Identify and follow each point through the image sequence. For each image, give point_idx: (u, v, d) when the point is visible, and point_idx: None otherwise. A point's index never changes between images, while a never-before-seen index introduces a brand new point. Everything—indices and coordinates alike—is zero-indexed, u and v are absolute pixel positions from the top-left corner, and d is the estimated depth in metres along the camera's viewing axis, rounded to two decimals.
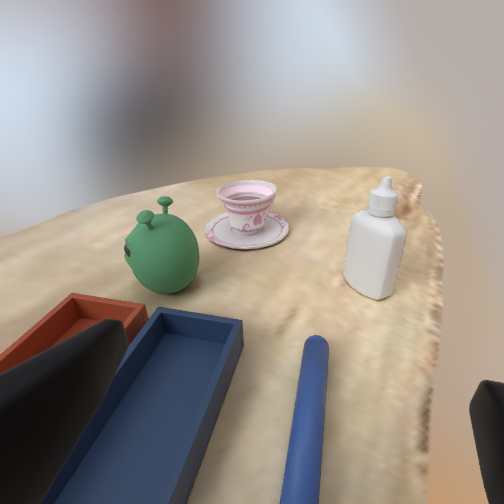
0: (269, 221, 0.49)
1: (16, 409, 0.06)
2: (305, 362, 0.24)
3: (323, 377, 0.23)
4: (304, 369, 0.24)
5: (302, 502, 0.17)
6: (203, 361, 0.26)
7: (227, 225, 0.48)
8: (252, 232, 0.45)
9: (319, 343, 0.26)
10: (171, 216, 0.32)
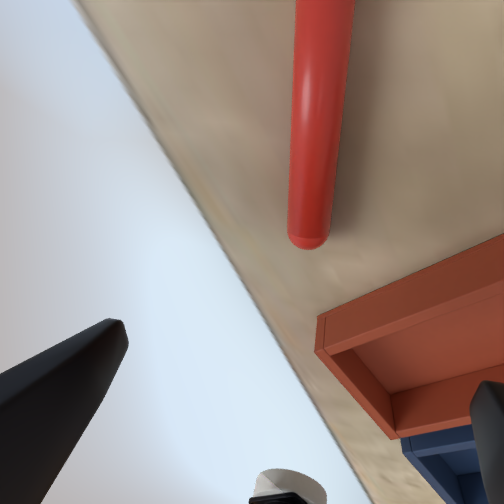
0: None
1: (16, 409, 0.06)
2: None
3: None
4: None
5: None
6: None
7: None
8: None
9: None
10: None
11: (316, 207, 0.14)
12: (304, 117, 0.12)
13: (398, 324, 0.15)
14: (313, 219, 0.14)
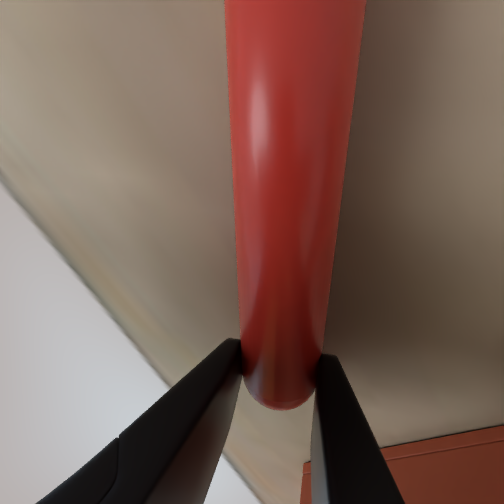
0: None
1: (183, 451, 0.05)
2: None
3: None
4: None
5: None
6: None
7: None
8: None
9: None
10: None
11: (290, 355, 0.07)
12: (255, 191, 0.05)
13: None
14: (285, 375, 0.07)
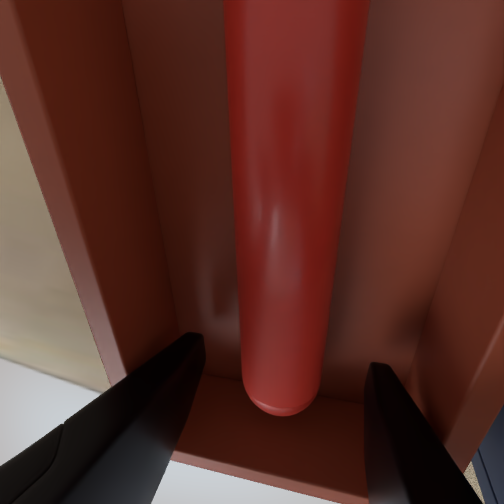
0: None
1: (126, 436, 0.06)
2: None
3: None
4: None
5: None
6: None
7: None
8: None
9: None
10: None
11: (292, 361, 0.07)
12: (255, 192, 0.05)
13: (100, 335, 0.07)
14: (286, 381, 0.07)
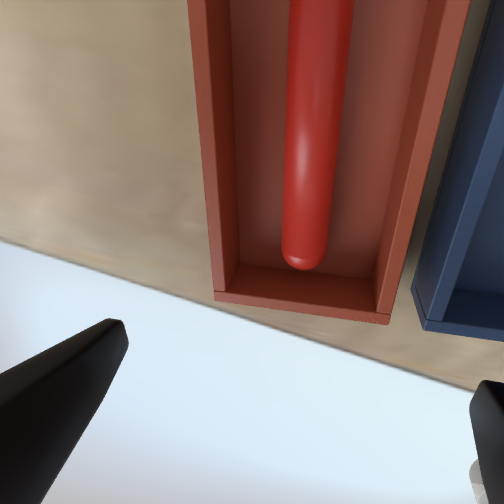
0: None
1: (16, 409, 0.06)
2: None
3: None
4: None
5: None
6: None
7: None
8: None
9: None
10: None
11: (312, 226, 0.13)
12: (298, 130, 0.11)
13: (211, 213, 0.13)
14: (309, 239, 0.13)
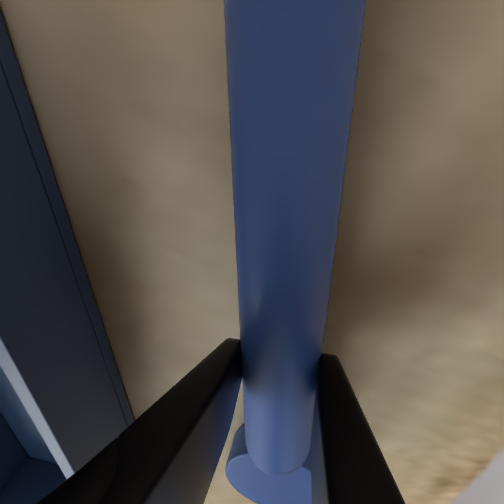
0: None
1: (183, 451, 0.05)
2: (238, 123, 0.05)
3: (325, 190, 0.05)
4: (240, 163, 0.05)
5: (277, 470, 0.09)
6: None
7: None
8: None
9: None
10: None
11: None
12: None
13: None
14: None
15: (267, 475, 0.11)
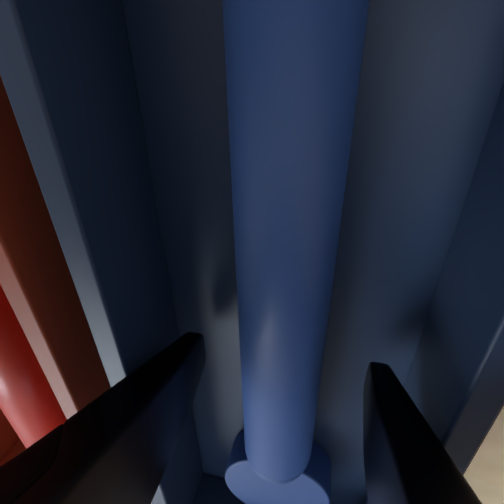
0: None
1: (126, 436, 0.06)
2: (237, 124, 0.05)
3: (327, 194, 0.05)
4: (239, 166, 0.05)
5: (277, 478, 0.09)
6: None
7: None
8: None
9: None
10: None
11: None
12: None
13: None
14: None
15: (267, 482, 0.11)
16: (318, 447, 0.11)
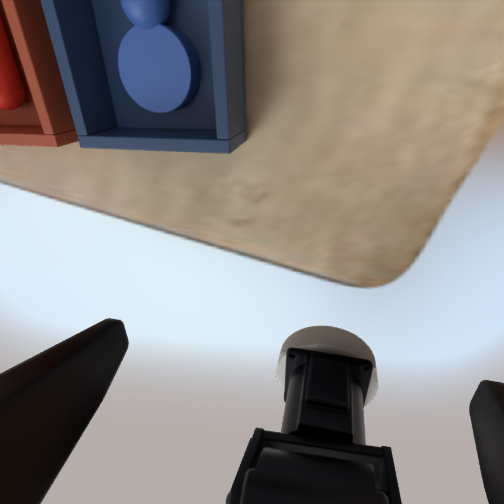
0: None
1: (16, 409, 0.06)
2: None
3: None
4: None
5: None
6: None
7: None
8: None
9: None
10: None
11: None
12: None
13: None
14: None
15: (146, 56, 0.14)
16: (185, 36, 0.15)
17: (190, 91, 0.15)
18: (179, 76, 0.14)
